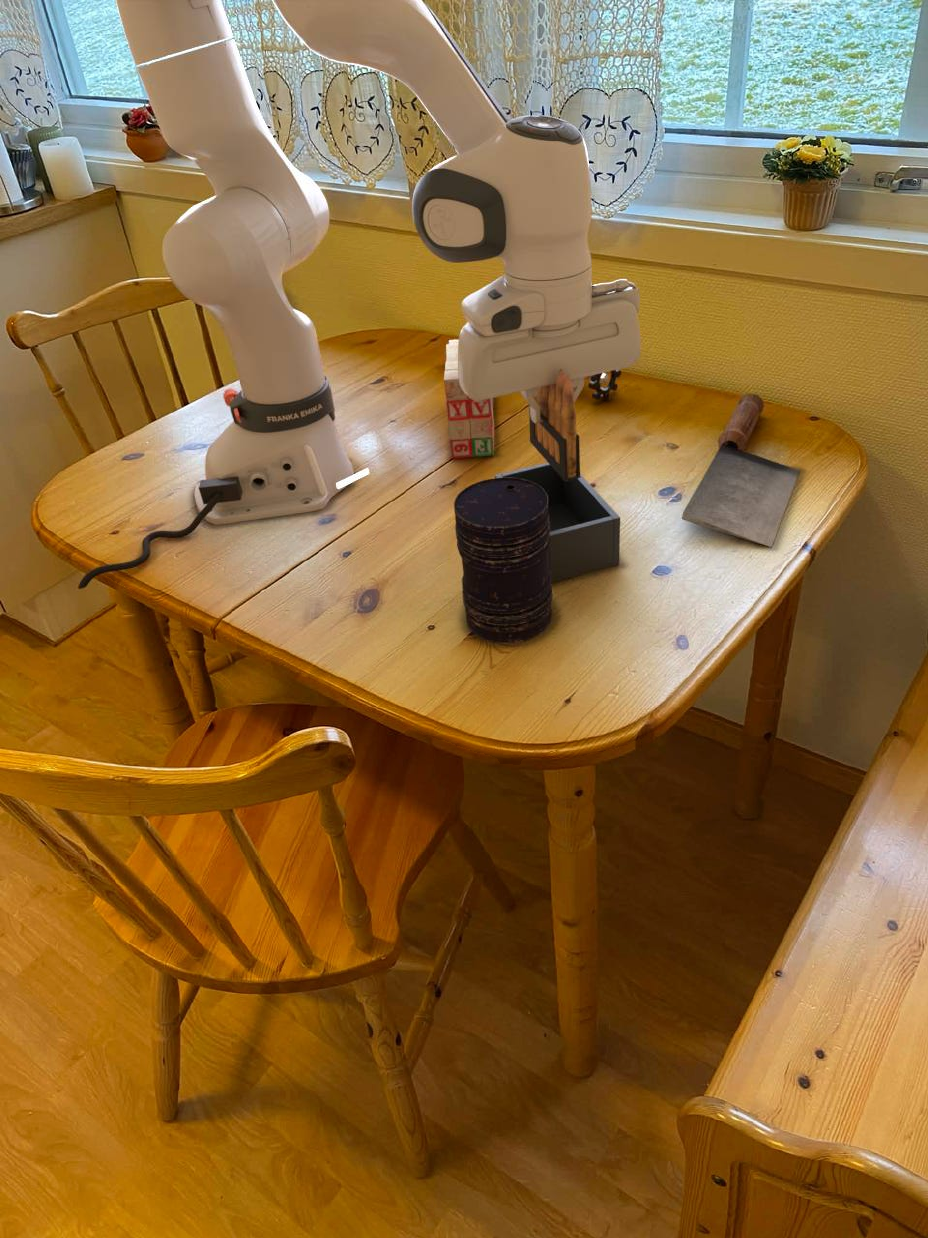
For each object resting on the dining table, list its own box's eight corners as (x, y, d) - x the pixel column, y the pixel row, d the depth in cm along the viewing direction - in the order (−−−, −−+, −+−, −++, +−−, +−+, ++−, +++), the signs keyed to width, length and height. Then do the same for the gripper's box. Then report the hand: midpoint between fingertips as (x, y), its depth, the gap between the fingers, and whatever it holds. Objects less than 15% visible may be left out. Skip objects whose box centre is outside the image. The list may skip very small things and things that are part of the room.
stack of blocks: (454, 394, 150) (447, 319, 142) (493, 391, 149) (487, 316, 141) (451, 459, 133) (443, 378, 125) (495, 456, 132) (489, 375, 125)
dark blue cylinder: (535, 652, 98) (530, 534, 89) (451, 635, 102) (437, 520, 92) (564, 597, 105) (562, 483, 96) (484, 583, 109) (474, 471, 99)
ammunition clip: (529, 441, 111) (525, 344, 103) (543, 437, 111) (540, 341, 104) (565, 482, 103) (563, 380, 95) (580, 478, 103) (579, 376, 96)
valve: (536, 387, 149) (593, 407, 142) (535, 347, 145) (593, 366, 138) (564, 373, 152) (621, 392, 145) (563, 334, 148) (622, 352, 141)
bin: (544, 585, 107) (542, 538, 103) (497, 519, 119) (494, 474, 115) (619, 564, 109) (620, 517, 105) (566, 502, 121) (565, 457, 117)
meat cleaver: (772, 547, 109) (777, 518, 107) (678, 531, 114) (680, 503, 111) (817, 423, 133) (821, 397, 130) (737, 413, 137) (740, 388, 134)
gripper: (626, 267, 100) (624, 387, 108) (446, 304, 96) (458, 425, 104) (654, 284, 95) (649, 408, 103) (466, 323, 91) (477, 449, 99)
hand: (552, 417), depth 104 cm, fingers closed on ammunition clip, 2 cm apart
